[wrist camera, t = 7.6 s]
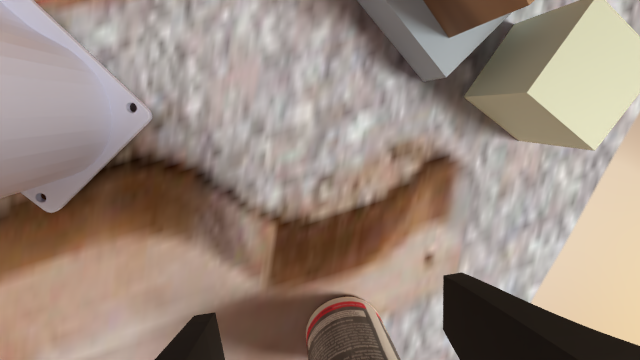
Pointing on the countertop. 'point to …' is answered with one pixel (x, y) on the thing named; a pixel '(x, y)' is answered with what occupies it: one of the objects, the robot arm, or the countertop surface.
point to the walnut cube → (470, 12)
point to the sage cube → (562, 76)
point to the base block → (425, 36)
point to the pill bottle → (348, 332)
